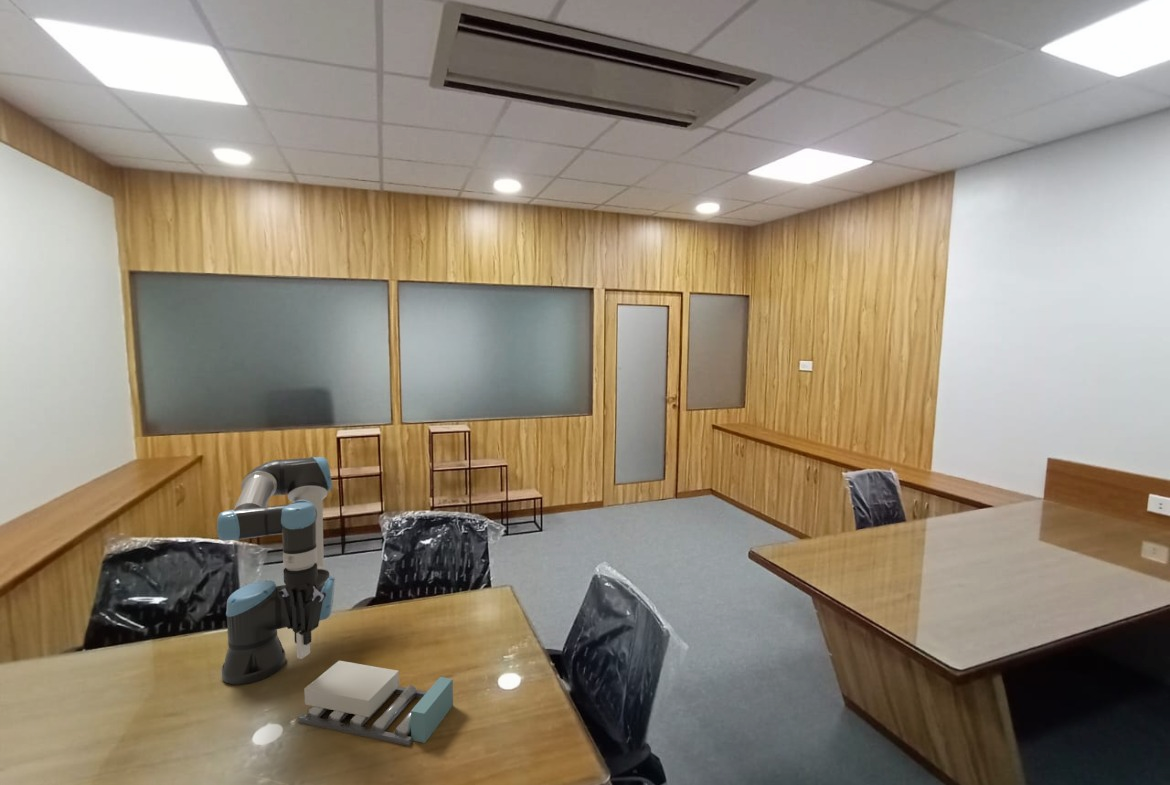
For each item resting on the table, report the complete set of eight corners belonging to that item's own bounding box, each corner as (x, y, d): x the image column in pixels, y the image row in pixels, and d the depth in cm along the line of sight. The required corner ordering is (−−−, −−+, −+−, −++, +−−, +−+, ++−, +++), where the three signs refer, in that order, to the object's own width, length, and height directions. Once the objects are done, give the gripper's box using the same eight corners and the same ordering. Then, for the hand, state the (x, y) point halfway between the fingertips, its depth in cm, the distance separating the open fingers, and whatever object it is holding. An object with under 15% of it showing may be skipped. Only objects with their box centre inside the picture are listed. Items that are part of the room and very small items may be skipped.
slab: (304, 704, 126) (304, 688, 126) (339, 674, 137) (339, 660, 137) (368, 717, 121) (368, 700, 121) (399, 685, 133) (398, 670, 133)
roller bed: (409, 745, 117) (408, 733, 116) (298, 722, 124) (297, 710, 124) (445, 699, 132) (445, 688, 132) (345, 681, 140) (345, 670, 140)
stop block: (411, 740, 118) (410, 711, 118) (440, 703, 131) (440, 676, 130) (424, 742, 118) (424, 713, 117) (453, 705, 130) (452, 678, 130)
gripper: (266, 568, 129) (270, 660, 130) (310, 573, 125) (314, 667, 127) (290, 557, 136) (294, 644, 137) (333, 562, 133) (335, 650, 134)
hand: (303, 655), depth 132 cm, fingers closed
